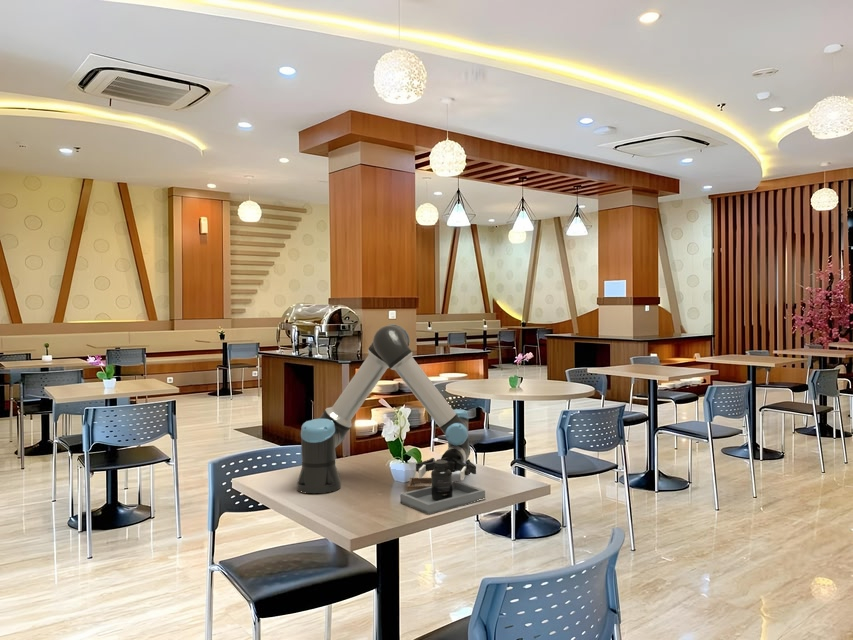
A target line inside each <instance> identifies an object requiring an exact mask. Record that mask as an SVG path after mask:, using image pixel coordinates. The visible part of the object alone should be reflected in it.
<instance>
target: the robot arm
mask: <svg viewBox="0 0 853 640" xmlns="http://www.w3.org/2000/svg"><path fill="white" fill-rule="evenodd" d="M409 346H410V336H409V334H408V332H407V330H406V329H404V328H403V327H402V326H399V325H397V324H390V325H386V326H385V325H384V326H382V327H380V328H379V329H378V330H377V331H376V332H375V334H374V336H373V339H372V342H371V344H370V345H369V346H368V348H367V352H368V354H367V357H366V358H365V359H364V361H363V362H362V364H361V366H360V367H359V368H358V370H357V371H356V372H355V374H354V375H353V376H352V377H351V379H350V381H349V383H348V384H347V385H346V387H345V388H344V389H343V391H342V392H341V393H340V395H339V396H338V398H337V400H336V401H335V402H334V404H333V405H332V406H330V407H326V408H325V410H324V411H323V412H322V414H321V415H320V417H319V418H314V419H310V420H306V421H305V422H303V423H302V425H301V427H300V428H301V429H300V440H301V441H300V442H301V445H300V446H301V449H300V450H301V469H300V473H299V475H298V478H297V479H298V480H297V483H296V487H297V489H298V490H299V491H302V492H306V493H323V494H326V493H325V492H329V493H331V492H330V491H333V492H335V491H334V490H336V491H338V490H340V489H341V488H342V481H341V478H340V475H339V471H338V468H337V466H336V448H337V447H338V446H339V445H341V444H342V442H343V441H344V439H345V437H346V435H347V434H348V432H349V431H350V430H351V429H352V426H353V424H352V419H353V418H354V417H355V415H356V414H357V412H358V411H359V410H360V409H361V407H362V405H363V404H364V403H365V401H366V399H368V397H369V396H370V394H371V392H372V391H373V390H374V388H375V387H376V386H377V384H378V382H379V381H380V380H381V379H382V377H383V375H384V374H385V373H386V371H387V369H390V370H393V371H395V372H396V373H397V375H398V376H399V377H400V378H401V380H402V381H403V383H405V385H406V386H407V388H408V389H409V390H410V391H411V393H412V394H413V395H414V397H415V398H416V399H417V400H418V401H419V403H420V405H422V407H423V408H424V410H425V411H426V412H427V413H428V414H429V416H430V417H431V418H432V419H433V421H434V422H435V424H436V425H437V426H438V427H439V428H440V430H441V431H442V433H443V434H444V436H445V439H446V441H447V450H445V451H444V453H443V454H442V455H441V457H440V458H438V459H436V460H435V458H434V457H431V458H430V459H427V460H423V461H420V462H417V463H415V471H416V472H417V473H418V478H424V476H425V475H426V473H427V472H432V471H433V470H434V469H435V468H434V462H435V461H438V460H446V461H448V462H449V468H448V469H450V470H451V472H452V473H456V472H460V474H459V476H460V481H464V479H465V478H466V476H470V474H472V475H476V474H477V465H475V464H474V463H473V462H472V461H471V459H469V457H470V455H471V450H472V449H471V446H470V443H469V441H470V440H469V413H468V410H465V409H460V408H459V409H458V408H457V409H453V407H452V406H451V405H450V404H449V402H448V401H447V400H446V399H445V397H444V396H443V394H442V393H441V392H440V390H439V389H438V388H437V387H436V386H435V384H434V383H433V382H432V381H431V379H430V378H429V377H428V375H427V374H426V373H425V371H424V370H423V369H422V368H421V366H420V365H419V364H418V362H417V361H416V360H415V358H414V357H413V354H414V353H413V351H412V350H411V348H410V347H409ZM340 487H341V488H340ZM339 488H340V489H339ZM337 489H338V490H337ZM298 490H297V491H298ZM299 491H298V492H299ZM306 493H305V494H306Z"/></svg>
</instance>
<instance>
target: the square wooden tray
mask: <svg viewBox="0 0 853 640" xmlns="http://www.w3.org/2000/svg"><path fill="white" fill-rule="evenodd" d="M407 483H408V484H407V485H406V487H407V488H406V490H407V491H406V492H410V491H414V490H418V489H423V488H427V487H431V485H415V484H431V477H422V478H419V477H409V480H408V482H407ZM413 484H414V485H413Z"/></svg>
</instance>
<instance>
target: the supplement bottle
mask: <svg viewBox="0 0 853 640" xmlns="http://www.w3.org/2000/svg"><path fill="white" fill-rule="evenodd" d="M437 460H438V459H437ZM434 468H435V469H434V470H432V471H430V472H431V473H430V476H431V477H430V478H431V483H430V486H431V489H432V499H433V500H435V501H439V500H443V499H447V498H451V497H453V488H452V482H453V472H451V470H450V469H448V468H449V462H448V461H446V460H438V461H436V460H435V462H434Z"/></svg>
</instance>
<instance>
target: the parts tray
mask: <svg viewBox="0 0 853 640" xmlns="http://www.w3.org/2000/svg"><path fill="white" fill-rule="evenodd" d="M452 488H453V497H451V498H447V499H443V500H439V501H435V500H433V499H432V489H431V487H427V488H423V489H418V490H414V491H410V492H407V491H406V492H401V493H400V494H399V495H400V504H401V505H402V504H403V505H404V506H407V507H409V508H412V509H414V510H416V511H417V512H418V511H419V512H421V513H424V514H425V513H426V514H425V515H428V514H429V515H433V514H436V513H441V512H443V511H444V512H445V511H449V510H451V509H455V508H458V506H460V507H462V506H461V505H463V506H466V505H465V504H467V505H469V504H468V503H471V502H474V501H477V500H479V499H483V498H485V499H486V490H484V489H481V488H478V487H475V486H473V485H469V484H467V483H464V482H460V481H457V480H454V481H453V480H452ZM471 504H472V503H471Z"/></svg>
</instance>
